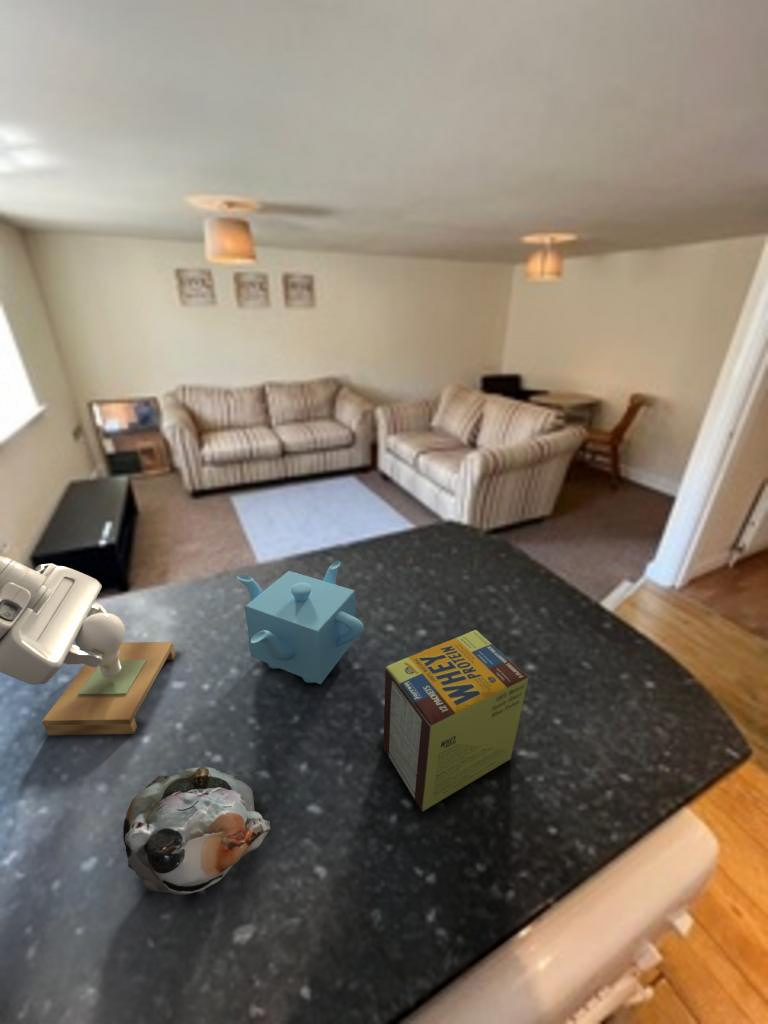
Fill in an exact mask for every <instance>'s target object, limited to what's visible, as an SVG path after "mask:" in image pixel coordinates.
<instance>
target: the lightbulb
mask: <svg viewBox="0 0 768 1024" xmlns="http://www.w3.org/2000/svg"><path fill="white" fill-rule="evenodd" d="M125 637H126V627H125V624H124V622H123V620H122V619H121V618H120V617H119V616H118V615H116V614H114V613H111V612H107V613H106V612H102V613H96V614H93V615H90V616H89V617H86V619H85V620H84V622H83V624H82V627H81V629H80V631H79V633H78V635H77V637H76V638H75V640H74V643H75V645H76V646H78V647H80V649H79V651H92V650H93V649H97V650H99V651H102V652H104V657H103V660H102V662H101V663H100V664H99V667H100V669H101V673H102V675H103V676H104V677H111V676H114V675H116V674H117V673H119V672H120V670H121V664H120V661H119V657H118V656H119V648H120V646H121V644H122V642H124V640H125Z"/></svg>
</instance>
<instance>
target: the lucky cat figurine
mask: <svg viewBox="0 0 768 1024" xmlns="http://www.w3.org/2000/svg"><path fill="white" fill-rule="evenodd" d="M254 799H255V798H254V794H253V790H252V788H251V787H250V786H249V784H247V783H246V782H245V781H242V780H241V778H240V777H239V776H238V775H236V776H235V775H231V774H228V773H226V772H221V771H220V770H219V769H218V768H216V769H215V768H214V767H210V766H198V767H197V766H196V767H188V768H186V769H183V770H181V771H179V772H178V773H176V774H174V775H170V776H169V775H168V776H167V775H159V776H157V777H156V778H155V779H154V780H153V781H151V782H150V783H148V784H147V785H146V786H145V787H144V788H142V789H141V790H140V791H139V792H138V793H137V794H136V795H135V796H134V798H133V799H132V800H131V802H130V804H129V806H128V809H127V810H126V814H125V817H124V820H123V821H124V822H123V829H122V833H123V834H122V839H123V843H124V847H125V855H126V858H127V866H128V868H129V869H131V870H132V871H133V872H134V873H135V874H136V876H138V878H139V879H141V881H142V882H143V885H144V886H145V888H146V890H149V891H150V892H152V893H167V894H174V895H178V896H184V895H185V896H186V895H191V894H194V893H198V892H199V893H200V892H202V891H203V890H205V889H207V888H209V887H211V886H213V885H215V884H217V883H218V882H220V881H221V880H222V879H223V878H224V877H225V876H226V875H227V874H228V873H229V871H230V870H231V869H232V867H233V866H234V865H236V864H237V863H239V861H240V859H242V857H244V856H245V855H246V854H247V853H250V852H252V851H254V850H256V849H258V848H259V847H260V845H261V844H262V843H263V841H264V839H265V838H266V836H267V835H268V833H269V832H270V830H271V826H270V824H271V822H270V820H266V819H264V818H263V816H262V814H261V813H260V812H258V811H255V800H254Z"/></svg>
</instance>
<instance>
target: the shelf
mask: <svg viewBox="0 0 768 1024" xmlns="http://www.w3.org/2000/svg"><path fill="white" fill-rule="evenodd" d="M118 657H119V661H120V664H121V670H120V672H119V673H117V674H116V675H114V676H111V677H104V676H103V675H102V673H101V669H100V667H99V665H98V666H97V667H91V666H89V665H86V664H84V665H83V667H82V668H81V669H80V670H79V672H78V673H77V674H76V676H75V677H74V679H72V681H71V682H70V683H69V685H67V687H66V689H65V690H64V691H63V692H62V694H61V695H60V697H59V698H58V699H57V701H56V702H55V703H54V704H53V706H52V707H51V709H50V710H49V711H48V712H47V714H46V715H44V717H43V719H42V720H41V722H42V725H43V727H44V729H45V731H46V734H47V735H48V736H79V735H80V736H85V735H87V736H88V735H133V734H135V732H136V730H137V728H138V725H137V722H136V718H135V717H136V716H137V713H138V711H139V710H140V708H141V706H142V705H143V703H144V700H145V699H146V697H147V695H148V694H149V692H150V689H151V688H152V686H153V685H154V683H155V681H156V679H157V677H158V675H159V673H160V672H161V670H162V668H163V666H164V664H165V663H166V661H172V660H174V658H175V657H176V652H175V648H174V642H173V641H149V642H148V641H135V642H134V641H128V642H127V641H123V642H122V644H121V646H120V648H119V656H118Z"/></svg>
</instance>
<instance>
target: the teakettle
mask: <svg viewBox="0 0 768 1024" xmlns="http://www.w3.org/2000/svg"><path fill="white" fill-rule="evenodd" d="M341 565H342V562H341V561H340V560H337V561H334V562H332V563H331V564H330V565H329V567H328V569H327V570H326V573H325V576H324V578H323V580H321V579H318V578H315V577H311V576H309V575H305V574H301V573H298V572H294V571H291V570H288V571H286V572H285V573H284V574H283V575H281V576H280V577H279V578H278V579H277V580H275V581H274V582H273V583H271V585H269V586H268V587H267V588H266V589H264V590H263V589H262V588H261V586H260V585H259V584H258V583H257V582H256V581H255V580H254V578H252V577H250V576H248V575H244V574H239V575H237V576H236V578H237V580H238V581H239V582H240V583H242V584H243V585H244V587H245V588H246V590H247V592H248V595H249V598H250V602H249V603H247V604H246V605H245V606H244V611H245V618H246V619H245V620H246V627H247V635H248V640H249V642H248V643H249V648H250V656H251V658H253V659H256V660H259V661H260V662H263V663H265V664H267V666H268V667H269V668H271V669H275V670H276V669H281V670H284V671H286V672H288V673H291V674H294V675H296V676H298V677H301V678H302V680H303V681H304V682H305V683H307V684H308V683H309V684H311V683H312V684H313V683H316V684H319V685H322V683H323V682H324V681H325V680H326V678H327V677H328V676H329V675H330V673H331V672H332V670H333V669H334V668H335V667H336V665H337V664H338V662H340V660H341V659H342V657H343V656H344V655H345V654H346V652H347V651H348V650H349V648H350V647H352V645H353V643H354V642H355V641H356V639H358V638H359V637H360V636H361V635H362V634H363V632H364V624H363V622H362V621H361V620H359V619H358V618H357V617H356V590H355V589H351V588H348V587H345V586H340V585H338V584H337V583H336V582H337V575H338V571H339V570H340V567H341Z"/></svg>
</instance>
